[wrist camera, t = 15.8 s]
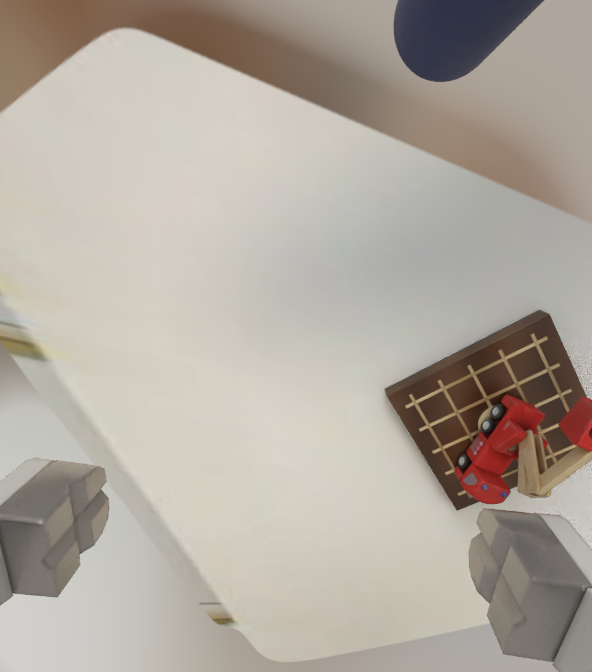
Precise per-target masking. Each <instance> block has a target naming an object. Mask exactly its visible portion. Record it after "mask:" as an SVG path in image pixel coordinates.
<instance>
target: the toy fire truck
mask: <svg viewBox="0 0 592 672" xmlns="http://www.w3.org/2000/svg"><path fill="white" fill-rule="evenodd" d="M501 403H502V404H503V405H504V407H503V406H501V405H495V406H494V407H493V408H492V410H491V416H492V418H493V419H495V420H494V421H493V420H491V419H485V420H484V421H483V422H482V425H481V428H482V431H483V432H479V434H478V435H477V437H476V438H475V439H474V441H473V442H472V444H471V445H470V447H469V448H468V449H467V451H466V453H467V455H464V454H463V455H461V456H460V457H459V459H458V466H456V467H455V470H454V471H455V474H456V476H457V478H458V479H459V481H460V482H461V485H462V487H463V488H464V489H465V490H466V491H467V492H468V493H469V494H470V495H471V496H472V497H473V498H475V499H476V500H478V501H480V502H482V503H486V504H498V503H502V502H504V500H505V499H506V498H507V497H508V495H509V494H510V493H511V492H510V490H509V488H508V486H507V485H506V484H505V482H504V481H503V479H502V477H501V475H502V474H503V472H504V471H505V470H506V469H507V467H508V466H509V464H510V463H511V462H512V460H513V459H516V460H518V492H519V493H522V494H524V495H526V496H529V497H531V498H545V497H549V496H550V495H551V489H552V488H554V487H555V486H556V485H558V484H559V483H561V482H562V481H563V480H565V479H566V478H568V477H569V476H570V475H572V474H573V473H574V472H576V471H577V470H578V469H580V468H581V467H582V466H584V465H585V464H586V463H588V462H589V461H590V460H592V400H591V399H589V398H586V397H584V396H582V397H581V398H580V399H579V400H578V402H577V403H576V404H575V405H574V406H573V407H572V408H571V410H570V411H569V412H568V413H567V414H566V415H565V416H564V418H563V419H562V420H561V421H560V422H559V424H558V425H559V427H560V428H561V430H562V431H563V432H564V434H565V435H566V436H567V438H568V439H569V441H570V442H571V443H572V444H574V445H576V447H575V448H574V449H573V450H571V451H570V452H569V453H567V454H566V455H565V456H564V457H562V458H561V459H560V460H558V461H557V462H556V463H555V464H554V465H552V466H551V467H550V468H549V469H547V463H546V458H545V452H544V449H545V448H546V447H547V445H548V442H547V441H546V440H545V439H544V438H543V437H542V436H541V435H540V434H539V433H538V432H537V431H536V428H537V427H538V425H539V424H540V422H541V421H542V420H543V418H544V417H545V414H544V413H542V412H541V411H540V410H539V409H537V408H536V407H535V406H534V405H532V404H529V403H527V402H524V401H522V400H519V399H517V398H515V397H512V396H510V395H505V396H504V397H503V399H502V400H501Z"/></svg>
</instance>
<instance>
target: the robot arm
mask: <svg viewBox="0 0 592 672" xmlns="http://www.w3.org/2000/svg"><path fill="white" fill-rule="evenodd" d="M106 482H107V481H106V475H105V469H104V468H102V467H100V466H95V465H88V464H79V463H73V462H66V461H58V460H56V461H53V460H47V459H40V458H33V459H29V460H26V461H25V462H24V463H22V464H21V465H20V466H19V467H17V468H16V469H15V470H14V471H12V472H11V473H10V474H9V475H7V476H6V477H5V478H4V479H2V480H1V481H0V605H1V604H3V603H4V602H6V601H7V600H8V599H10V598H11V597H12V596H13V593H15V594H26V595H36V596H47V597H58V596H59V594H60V593H61V591H62V590H63V589H64V587H65V586H66V585H67V583H68V582H69V580H70V579H71V577H72V576H73V575H74V573H75V572H76V570H77V569H78V567H79V566H80V554H81V553H82V552H84V551H86V550H87V549H89V548H91V547H92V546H94V545H95V543H96V542H97V540H98V539H99V537H100V536H101V534H102V533H103V530H104V527H105V525H106V522H107V520H108V514H109V498H108V497H107V496H106V495H105V494H104V492H103V491H102V490H101V488H102V487H103V486H104V484H105V483H106ZM477 525H478V527H479V529H480V531H481V533H480V534H478V535H477V536H476V537H474V538H473V539H472V540H471V544H470V548H469V568H470V572H471V577H472V580H473V582H474V585H475V587H476V590H477V592H478V593H479V594H480V595H481V596H482V597H483V598H484V599H485V600H486V601H488V602H489V603H490V606H489V609H488V613H487V616H488V619H489V621H490V623H491V626H492V628H493V630H494V633H495V635H496V637H497V640H498V642H499V645H500V647H501V649H502V652H503V654H506V655H512V656H518V657H524V658H531V659H537V660H543V661H551V662H553V666H554V667H555V668H556V669H557V670H558V671H559V672H592V549H591V548H590V547H589V545H588V544H587V543H586V542H585V541H584V539H583V538H582V537H581V536H580V535H579V533H578V532H577V531H576V530H575V528H574V527H573V526H572V525H571V524H570V522H569V521H568V520H566V519H565V518H563V517H562V516H560V515H550V514H539V513H534V514H532V513H524V512H515V511H505V510H495V509H485V508H484V509H483V510H482V511H481V512H480V514H479V517H478V520H477Z"/></svg>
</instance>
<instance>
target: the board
mask: <svg viewBox="0 0 592 672" xmlns="http://www.w3.org/2000/svg"><path fill="white" fill-rule="evenodd" d="M385 392H386V394H387V397H388V398H389V400H390V402H391V403H392V405H393V406H394V408H395V410H396V411H397V413H398V415H399V416H400V418H401V420H402V421H403V423H404V424H405V426H406V428H407V429H408V431H409V433H410V434H411V436H412V438H413V439H414V441H415V443H416V444H417V446H418V447H419V449H420V451H421V452H422V454H423V456H424V457H425V459H426V461H427V462H428V464H429V466H430V467H431V469H432V470H433V472H434V474H435V475H436V477H437V479H438V480H439V482H440V484H441V485H442V487H443V489H444V490H445V492H446V493H447V495H448V497H449V498H450V500H451V502H452V503H453V505H454V507H455V508H456V510H460V509H462V508H465V507H467V506H470V505H472V504H475V503H477V502H480V501H478V500H476V499H475V498H473V497H472V496H471V495H470V494H469V493H468V492H467V491H466V490H465V489H464V488H463V487H462V485H461V482H460V481H459V479H458V478H457V476H456V474H455V471H454V470H455V467H456V466H458V459H459V457H460V456H461V455H463V454H464V455H467V453H466V451H467V449H468V448H469V447H470V445H471V444H472V442H473V441H474V439H475V438H476V437H477V435H478V434H479V432H483V431H482V428H481V425H482V422H483V421H484V420H485V419H491V420H493V421H494V420H495V419H493V418H492V416H491V410H492V408H493V407H494V406H495V405H501V406H503V407H504V405H503V404H502V403H501V400H502V399H503V397H504V396H505V395H510V396H512V397H515V398H517V399H519V400H522V401H524V402H527V403H529V404H532V405H534V406H535V407H536V408H537V409H539V410H540V411H541V412H542V413H544V414H545V417H544V418H543V420H542V421H541V422H540V424H539V425H538V427H537V428H536V431H537V432H538V433H539V434H540V435H541V436H542V437H543V438H544V439H545V440H546V441H547V442H548V445H547V447H546V448H545V449H544V452H545V458H546V463H547V469H549V468H550V467H551V466H552V465H554V464H555V463H556V462H557V461H558V460H560V459H561V458H562V457H564V456H565V455H566V454H567V453H569V452H570V451H571V450H573V449H574V448H575V447H576V445H574V444H572V443H571V442H570V441H569V439H568V438H567V436H566V435H565V434H564V432H563V431H562V430H561V428H560V427H559V425H558V424H559V422H560V421H561V420H562V419H563V418H564V416H565V415H566V414H567V413H568V412H569V411H570V410H571V408H572V407H573V406H574V405H575V404H576V403H577V402H578V400H579V399H580V398H581V397H582V396H584V397H586V394H585V392H584V390H583V388H582V386H581V383H580V381H579V379H578V377H577V374H576V372H575V370H574V368H573V366H572V363H571V361H570V359H569V357H568V354H567V352H566V350H565V348H564V346H563V343H562V341H561V339H560V337H559V334H558V332H557V330H556V328H555V325H554V323H553V321H552V319H551V317H550V314H548V313H546V312H543V311H541V310H539V311H537V312H535V313H533V314H531V315H529V316H527V317H525V318H523V319H522V320H520V321H518V322H516V323H514V324H512V325H510V326H508V327H506V328H504V329H502V330H500V331H498V332H496V333H494V334H492V335H490V336H488V337H486V338H484V339H482V340H480V341H478V342H476V343H474V344H472V345H470V346H469V347H467V348H465V349H463V350H461V351H459V352H457V353H455V354H453V355H451V356H449V357H447V358H445V359H443V360H441V361H439V362H437V363H435V364H433V365H431V366H429V367H427V368H425V369H423V370H421V371H419V372H417V373H415V374H414V375H412V376H410V377H408V378H406V379H404V380H402V381H400V382H398V383H396V384H394V385H392V386H390V387H388V388H386V389H385ZM586 398H587V397H586ZM501 477H502V479H503V481H504V482H505V484H506V485H507V486H508V488H509V489H512V488H514V487H516V486H518V460H516V459H513V460H512V462H511V463H510V464H509V466H508V467H507V469H506V470H505V471H504V472H503V474H502V475H501Z"/></svg>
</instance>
